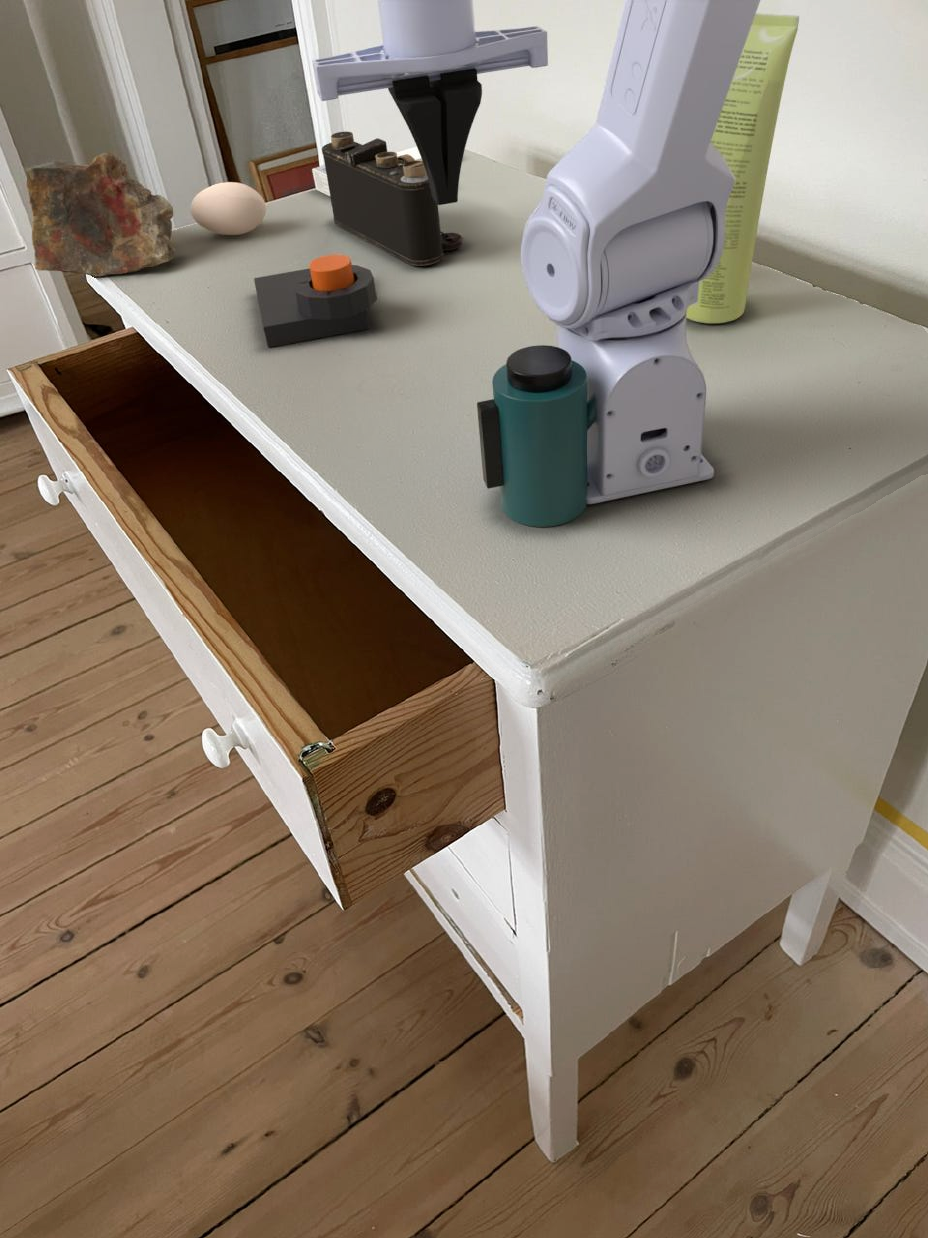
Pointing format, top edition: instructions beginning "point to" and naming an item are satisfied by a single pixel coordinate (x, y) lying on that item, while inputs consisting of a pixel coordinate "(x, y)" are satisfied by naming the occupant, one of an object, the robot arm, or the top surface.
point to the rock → (97, 219)
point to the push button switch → (312, 306)
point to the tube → (746, 160)
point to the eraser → (411, 153)
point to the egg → (228, 208)
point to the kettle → (538, 436)
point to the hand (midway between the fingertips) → (444, 199)
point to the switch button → (331, 272)
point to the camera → (385, 200)
